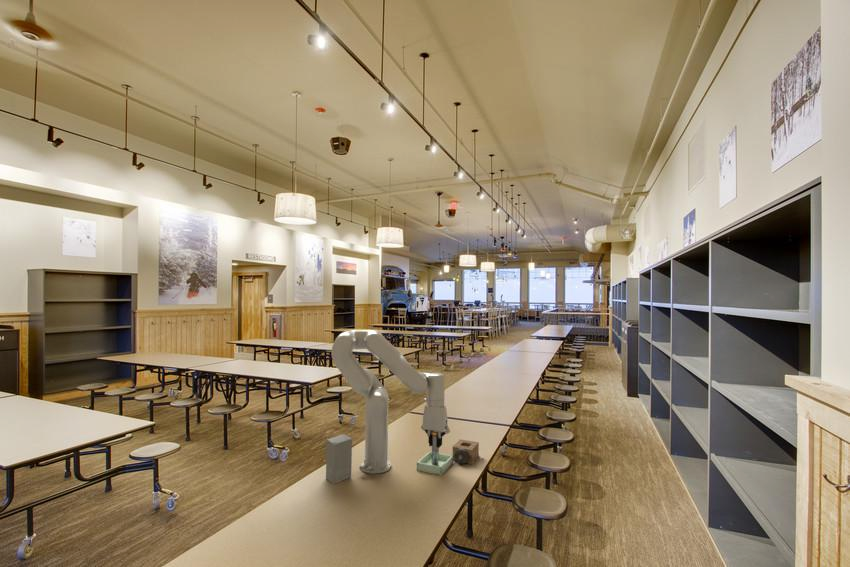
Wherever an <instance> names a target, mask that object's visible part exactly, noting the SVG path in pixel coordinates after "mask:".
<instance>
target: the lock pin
mask: <svg viewBox="0 0 850 567" xmlns="http://www.w3.org/2000/svg"><path fill="white" fill-rule="evenodd" d="M431 434H432V446H431V452H432V465H438V464H439V451H440V450H439V449H440V447H439V448H437V438H438V431H431Z"/></svg>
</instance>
